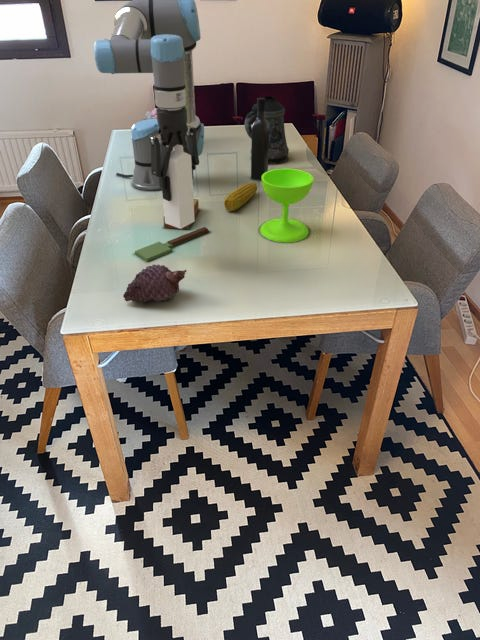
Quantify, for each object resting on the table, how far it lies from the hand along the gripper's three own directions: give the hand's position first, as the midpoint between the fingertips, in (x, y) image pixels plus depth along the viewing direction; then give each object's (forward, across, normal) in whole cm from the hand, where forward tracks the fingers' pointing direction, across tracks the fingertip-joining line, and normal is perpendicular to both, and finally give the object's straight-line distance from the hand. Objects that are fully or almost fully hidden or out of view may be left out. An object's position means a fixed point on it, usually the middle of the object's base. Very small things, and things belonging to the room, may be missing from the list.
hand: (177, 195), depth 140 cm
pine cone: (+21, -17, -10) cm, 29 cm away
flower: (+20, +60, +87) cm, 108 cm away
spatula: (+20, +5, +10) cm, 23 cm away
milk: (+8, 0, 0) cm, 8 cm away
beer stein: (+20, +82, +45) cm, 96 cm away
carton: (+21, +18, +23) cm, 36 cm away
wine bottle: (+20, +64, +32) cm, 74 cm away
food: (+20, +42, +19) cm, 50 cm away
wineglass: (+21, +37, -7) cm, 43 cm away
